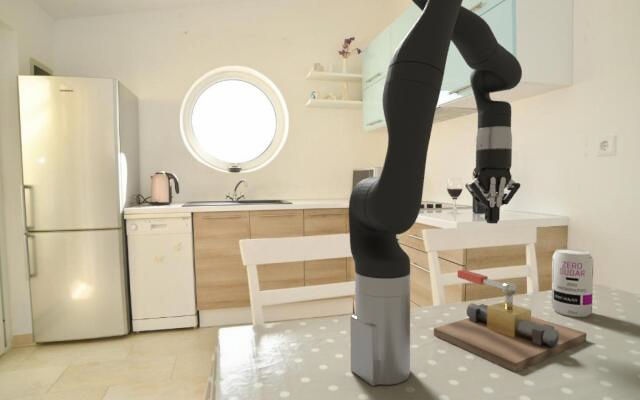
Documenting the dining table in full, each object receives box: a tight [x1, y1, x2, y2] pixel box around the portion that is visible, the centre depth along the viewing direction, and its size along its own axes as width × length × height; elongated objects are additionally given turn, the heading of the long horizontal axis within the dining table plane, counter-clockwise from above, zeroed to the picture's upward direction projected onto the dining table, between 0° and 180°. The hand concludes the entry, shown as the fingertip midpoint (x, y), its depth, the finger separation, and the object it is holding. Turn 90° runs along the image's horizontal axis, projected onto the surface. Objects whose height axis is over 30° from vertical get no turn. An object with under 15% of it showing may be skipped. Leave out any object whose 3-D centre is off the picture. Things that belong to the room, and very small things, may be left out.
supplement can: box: [551, 248, 594, 318], centre depth 92 cm, size 8×8×15 cm
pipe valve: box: [466, 293, 559, 347], centre depth 77 cm, size 6×18×9 cm, turn 31°
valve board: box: [433, 315, 587, 373], centre depth 77 cm, size 24×18×2 cm
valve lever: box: [457, 269, 517, 295], centre depth 83 cm, size 15×3×2 cm, turn 23°
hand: (492, 223), depth 87 cm, fingers closed
